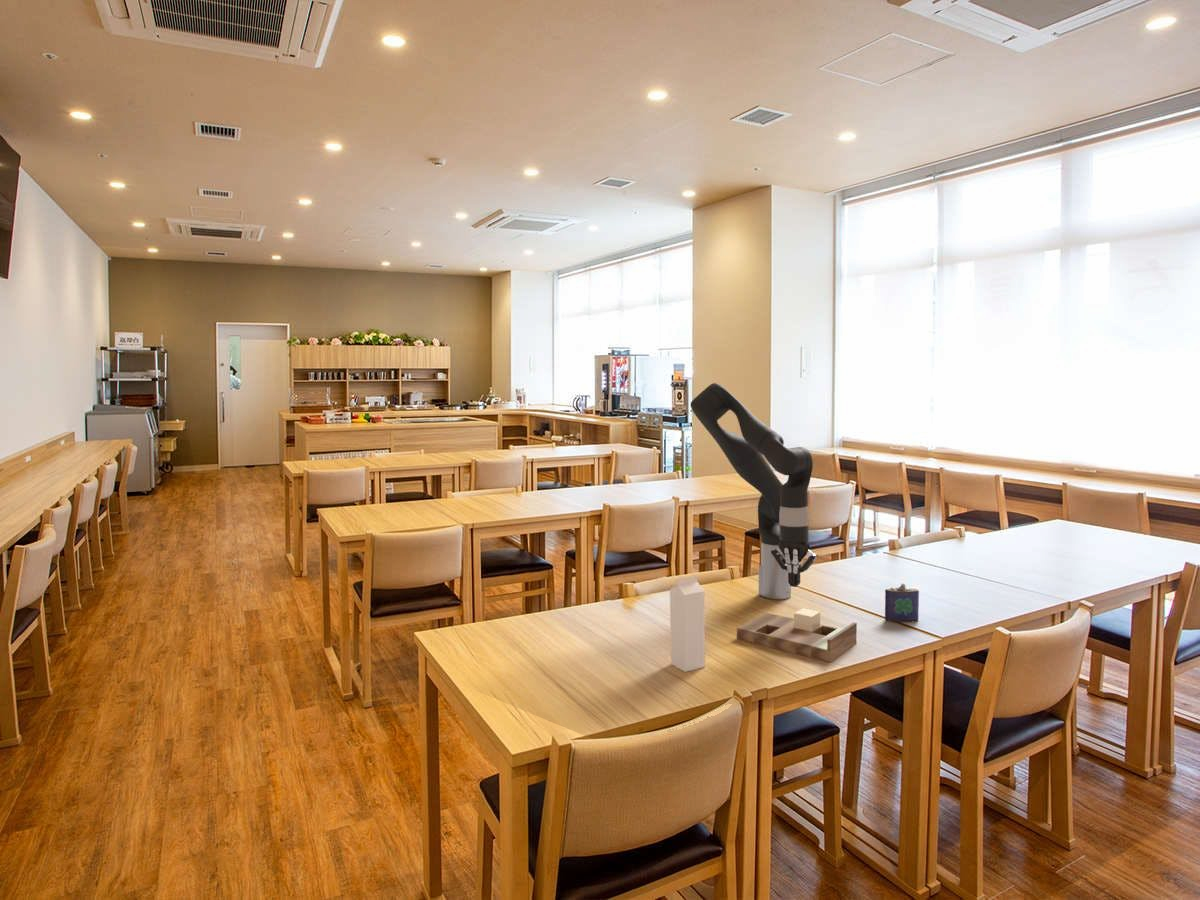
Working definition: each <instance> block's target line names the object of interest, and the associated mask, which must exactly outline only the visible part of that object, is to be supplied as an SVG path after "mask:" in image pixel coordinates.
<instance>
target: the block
mask: <svg viewBox="0 0 1200 900" xmlns="http://www.w3.org/2000/svg"><path fill="white" fill-rule="evenodd" d="M793 619H794V628H797V629H802V630H806V631H811V632H812V631H814V630H815V629H817V628H819V627H820V624H821V611H816V610H814V609H808V608H803V607H802V608H800V609H799V610H797V611H795V612H794V613H793Z"/></svg>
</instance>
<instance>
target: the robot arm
mask: <svg viewBox="0 0 1200 900" xmlns="http://www.w3.org/2000/svg"><path fill="white" fill-rule="evenodd" d="M690 408H691V411H692V412H693V415H695V417H696V418H697V420H699V422H700V423H701V424H702V426H703V427H704V428H705V429H706V430H707V432H708V433H709V434H710V436H711V437H712V438H713V440H715V442H716V443H717V445H718V446H719V448H720V449H721V451H722V452H723V454H724V456H725V457H726V458H727V460H728V461H729V463H730V465H731V466H732V468H733V469H734V470H735V472H736V473H737V474H738V475H739V477H741V478H742V479H743V480H744V481H745V482H746V483H748V484H749V485H750V486H752V487H753V488H754V489H756V490H757V491H758V492H759V493H760V494H761V496H760V497H759V498H758V499H759V500H758V502H757V521H758V523H757V524H758V526H757V527H758V533H759V536H760V540H761V541H760V543H761V544H760V548H761V549H760V553H761V554H760V555H761V558H760V565H758V595H759V596H762V597H764V598H765V597H766V599H768V600H769V599H771V600H787V599H789V598H791V597H792V587H794V588H797V587H798V586H799V585H800V584H801V573H804V572H806V571H808V570H809V569H810V567H811V566H812V565H813V564H814V563H815V561H816V560H817V559H818V558H819V554H817V553H814V552H813V551H812V550H811V546H810V544H809V540H810V539H809V537H810V536H809V531H810V527H809V526H810V525H809V523H810V519H809V518H810V517H809V510H808V506H809V505H808V489H809V486H810V481H811V478H812V473H813V465H814V462H813V457H812V454H811V451H809V450H808V449H807V448H806V447H804V446H797V447H789V448H788V447H786V446H784V443H785V442H784V439H783V437H782V436H781V435H780V434H779V433H777V432H776V431H775V430H773V429H772V428H770V427H769V426H767V425H766V424H765V423H763V422H762V421H761V420H760V419H758V417H756V416H755V415H754V414H753V413H752V411H750V410H749V409H748V408H747V407H746V406H745V405H744V404H743V403H742V402H741V401H740V400H739V399H738V398H736V397H735V396H734V395H733V394H732V393H731V391H729V390H728V389H727V388H726V387H725V386H723V385H721V384H719V383H715V382H714V383H710V384H708V386H707V387H706V388H705V389H703V390H702V391H701V392H700V393H699V394H698V395H697V396H696V397H694V398H693V400H692V401H691V402H690ZM729 411H731V412H732V413H733V414H734V415H735V416H736V418H737V422H738V424H739V428H740V429H739V430H740V432H741V435H740V434H737V433H733V432H730V431H728V430H727V429H724V428H723V427H722V426H721V425H720V424H719V420H720V419H721V418H722V417H723V416H724V415H725V414H726V413H728V412H729ZM769 464H770V465H769ZM771 467H772V468H773V469H774V470H775V471H776V473H777V472H778V473H779V474H781V475H783V476H788V479H787V481H785V483H784V484H783V483H782V481H781V480H780V479H779V478H778V476H777V475H776V473H775V472H774V470H773V469H772V468H771ZM805 557H806V560H805V561H804V559H805ZM803 562H804V563H803Z"/></svg>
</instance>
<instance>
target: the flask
mask: <svg viewBox="0 0 1200 900" xmlns="http://www.w3.org/2000/svg"><path fill="white" fill-rule="evenodd" d="M884 593H885V594H884V595H885V596H884V598H885V599H884V600H885V601H884V621H885V620H886V621H885V622H887V621H891V622H890V623H913V622H912V621H915V622H919V607H920V606H919V605H920V604H919V601H920V600H919V599H920V598H919V597H920V590H919V589H917V588H907V587H906V584H905V583H900V586H899V587H894V588H893V587H892V586H891V587H890V588H886V589H885V591H884Z"/></svg>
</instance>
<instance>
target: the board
mask: <svg viewBox="0 0 1200 900" xmlns="http://www.w3.org/2000/svg"><path fill="white" fill-rule="evenodd" d="M857 624H858V623H857V622H854V621H853V622H852V623H850V624H849V625H848V626H846V627H845V628H839V627H838V628H837V627H834V626H828V625H824V624H821V623H820V627H819V628H817V629H815V630H814V631H812V632H811V631H806V630H802V629H797V628H794V617H793V618H792V617H788V616H784V615H779V614H773V613H769V612H765V613H762V614H761V615H758V616H757V617H755V618H753V619H751V620H748V622H745V623H744V624H741V625H740V626H738V627H736V639H737V640H740V641H743V640H744V642H747V641H748V642H749V643H751V642H752V643H753V644H756V645H759V644H760V645H761V646H764V647H767V648H772V649H775V650H779V651H783V652H788V653H791V654H795V653H796V654H795V655H799V654H800V656H803V655H804V656H803V657H807V656H808V658H811V657H813V658H812V659H815V658H817V659H816V660H819V659H820V661H823V660H825V661H824V662H827V661H828V663H832V661H835V660H836V659H837V658H839V657H840V656H841V655H842V653H843V654H844V653H845V652H847V651H848V650H850V649H851V648H853V645H854V646H855V645H856V644H857V626H858V625H857ZM850 647H851V648H850ZM846 650H847V651H846ZM835 658H836V659H835Z"/></svg>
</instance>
